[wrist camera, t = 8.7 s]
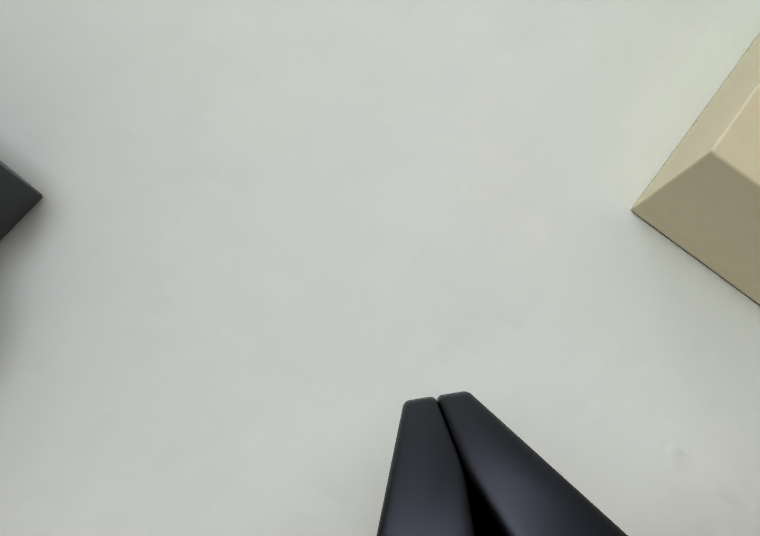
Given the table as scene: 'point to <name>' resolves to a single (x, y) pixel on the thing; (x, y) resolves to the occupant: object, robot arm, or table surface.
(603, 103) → the table surface
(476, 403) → the robot arm
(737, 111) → the box
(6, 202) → the dark gray block
